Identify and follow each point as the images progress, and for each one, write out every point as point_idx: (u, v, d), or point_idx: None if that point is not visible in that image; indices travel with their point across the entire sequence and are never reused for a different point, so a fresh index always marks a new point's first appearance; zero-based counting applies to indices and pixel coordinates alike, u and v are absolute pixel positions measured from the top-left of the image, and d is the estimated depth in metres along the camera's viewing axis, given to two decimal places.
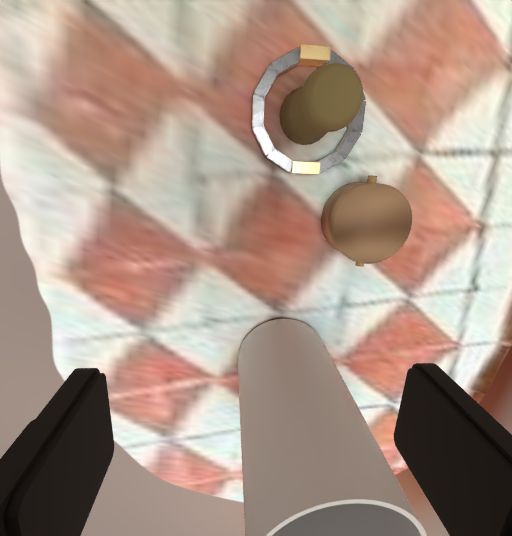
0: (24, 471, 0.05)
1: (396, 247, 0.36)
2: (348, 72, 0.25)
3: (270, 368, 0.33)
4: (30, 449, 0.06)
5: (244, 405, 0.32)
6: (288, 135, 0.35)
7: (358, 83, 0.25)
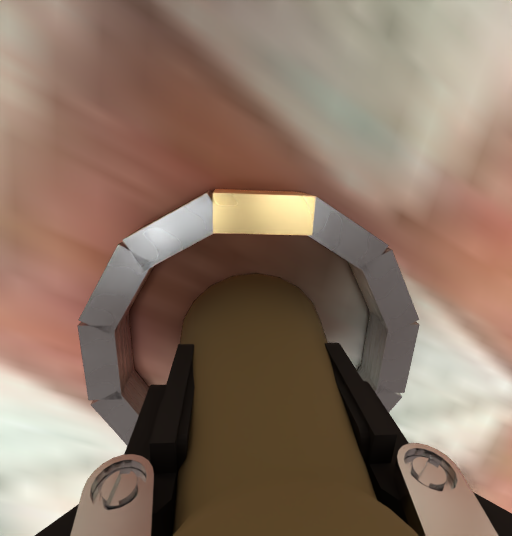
0: (180, 415, 0.07)
1: None
2: None
3: None
4: (175, 401, 0.07)
5: None
6: None
7: None
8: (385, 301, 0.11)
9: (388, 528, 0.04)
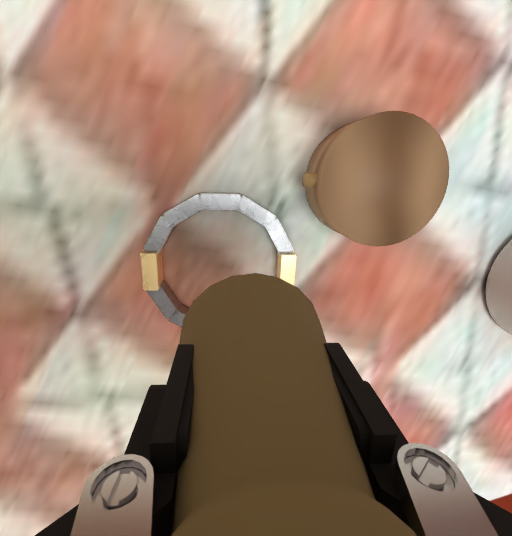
0: (180, 415, 0.07)
1: (429, 134, 0.21)
2: None
3: None
4: (176, 401, 0.07)
5: None
6: None
7: None
8: (188, 213, 0.24)
9: (386, 527, 0.04)
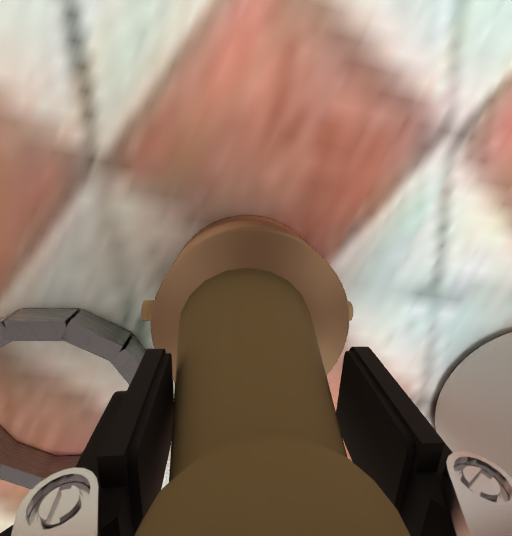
0: (134, 425, 0.07)
1: (312, 263, 0.13)
2: None
3: None
4: (133, 410, 0.07)
5: None
6: None
7: None
8: None
9: (344, 471, 0.05)
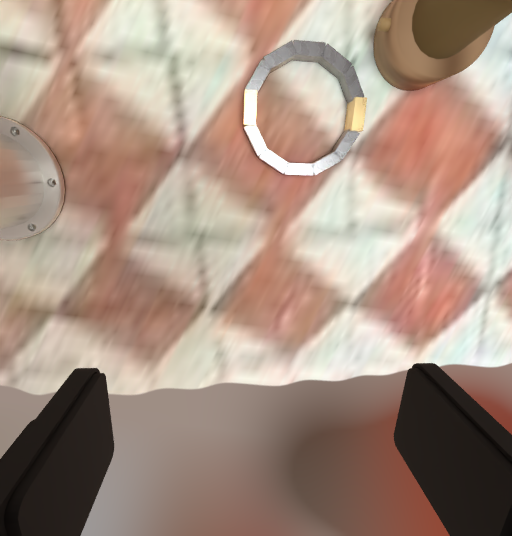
0: (24, 470, 0.05)
1: None
2: None
3: None
4: (30, 449, 0.06)
5: None
6: (423, 44, 0.27)
7: None
8: (283, 57, 0.30)
9: None
